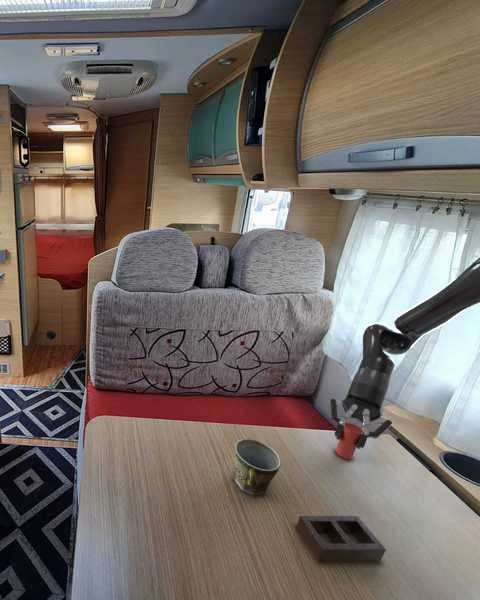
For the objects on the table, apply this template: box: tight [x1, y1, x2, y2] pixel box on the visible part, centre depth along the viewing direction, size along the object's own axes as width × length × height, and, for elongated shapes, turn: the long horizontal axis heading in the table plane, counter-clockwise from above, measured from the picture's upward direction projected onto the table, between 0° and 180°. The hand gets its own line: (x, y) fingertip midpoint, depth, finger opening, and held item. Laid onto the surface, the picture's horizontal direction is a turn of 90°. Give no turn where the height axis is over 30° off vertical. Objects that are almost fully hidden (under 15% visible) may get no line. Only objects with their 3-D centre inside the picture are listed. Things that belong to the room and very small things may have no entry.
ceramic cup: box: [234, 438, 282, 496], centre depth 80 cm, size 13×10×10 cm
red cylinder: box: [335, 422, 362, 460], centre depth 91 cm, size 4×4×9 cm
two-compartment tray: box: [295, 515, 387, 563], centre depth 69 cm, size 13×7×4 cm, turn 91°
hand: (347, 443), depth 89 cm, fingers closed on red cylinder, 3 cm apart
